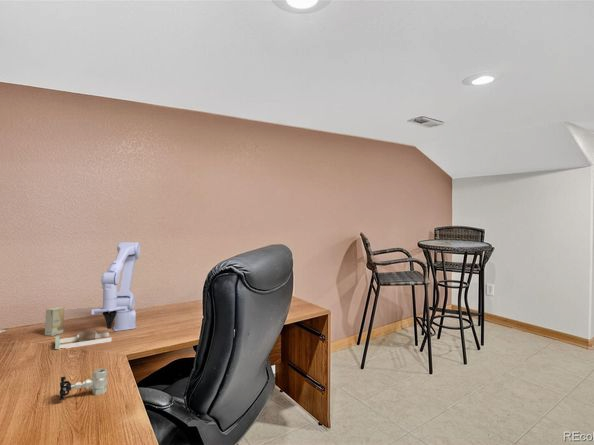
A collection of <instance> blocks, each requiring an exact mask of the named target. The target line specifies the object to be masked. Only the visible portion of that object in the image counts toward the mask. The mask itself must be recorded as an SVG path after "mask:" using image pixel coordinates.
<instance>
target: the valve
mask: <svg viewBox="0 0 594 445" xmlns="http://www.w3.org/2000/svg"><path fill="white" fill-rule="evenodd" d="M66 379H67V376H61V377H60V383H59V387H60V390H59V401H64V400H65V397H66V396H68V395H69V394H70V391H72V389H75V390H78V389H81V388H84V389H85V390H89V389H90V388H92V389H91V390H92V391H91V392H92V394H93V395H95V396H98V395H102V394H105V392H107V390H108V388H107V384H108V381H109V380H108V369H106V368H98V369H95V370H94V371H93V372H92V378H90V377H89V378H86V379H85V381H84V380H83V382H81V381H78V382H75V384H72V383H71V382H70V381H69V380H66Z"/></svg>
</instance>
